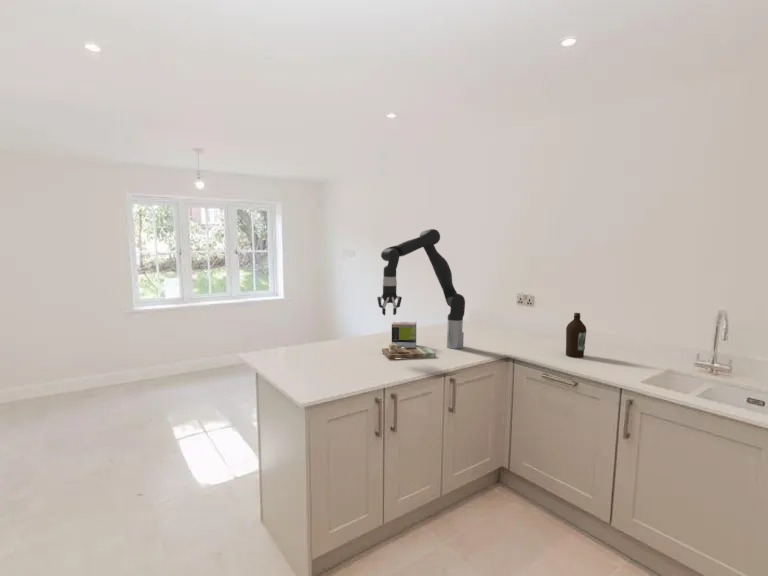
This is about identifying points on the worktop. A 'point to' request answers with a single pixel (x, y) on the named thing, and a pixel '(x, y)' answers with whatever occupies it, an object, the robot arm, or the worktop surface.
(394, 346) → the block
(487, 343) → the worktop surface
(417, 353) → the board
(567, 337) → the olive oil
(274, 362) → the worktop surface
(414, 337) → the tea box
